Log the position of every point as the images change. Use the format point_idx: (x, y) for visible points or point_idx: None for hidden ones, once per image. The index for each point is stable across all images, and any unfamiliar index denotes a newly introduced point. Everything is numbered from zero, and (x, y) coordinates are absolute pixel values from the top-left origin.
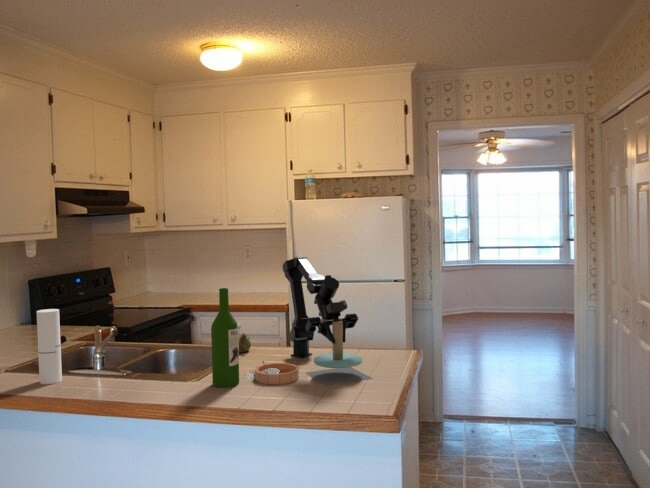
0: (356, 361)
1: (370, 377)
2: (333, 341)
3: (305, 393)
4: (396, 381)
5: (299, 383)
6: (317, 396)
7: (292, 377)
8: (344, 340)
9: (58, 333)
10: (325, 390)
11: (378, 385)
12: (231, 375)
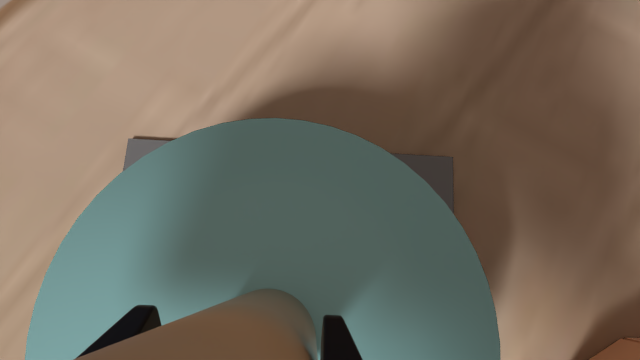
0: (176, 165)
1: (128, 166)
2: (347, 332)
3: (597, 106)
4: (47, 42)
5: (572, 301)
6: (555, 34)
7: (634, 353)
8: (148, 310)
9: None
10: (479, 98)
11: (179, 32)
12: None
